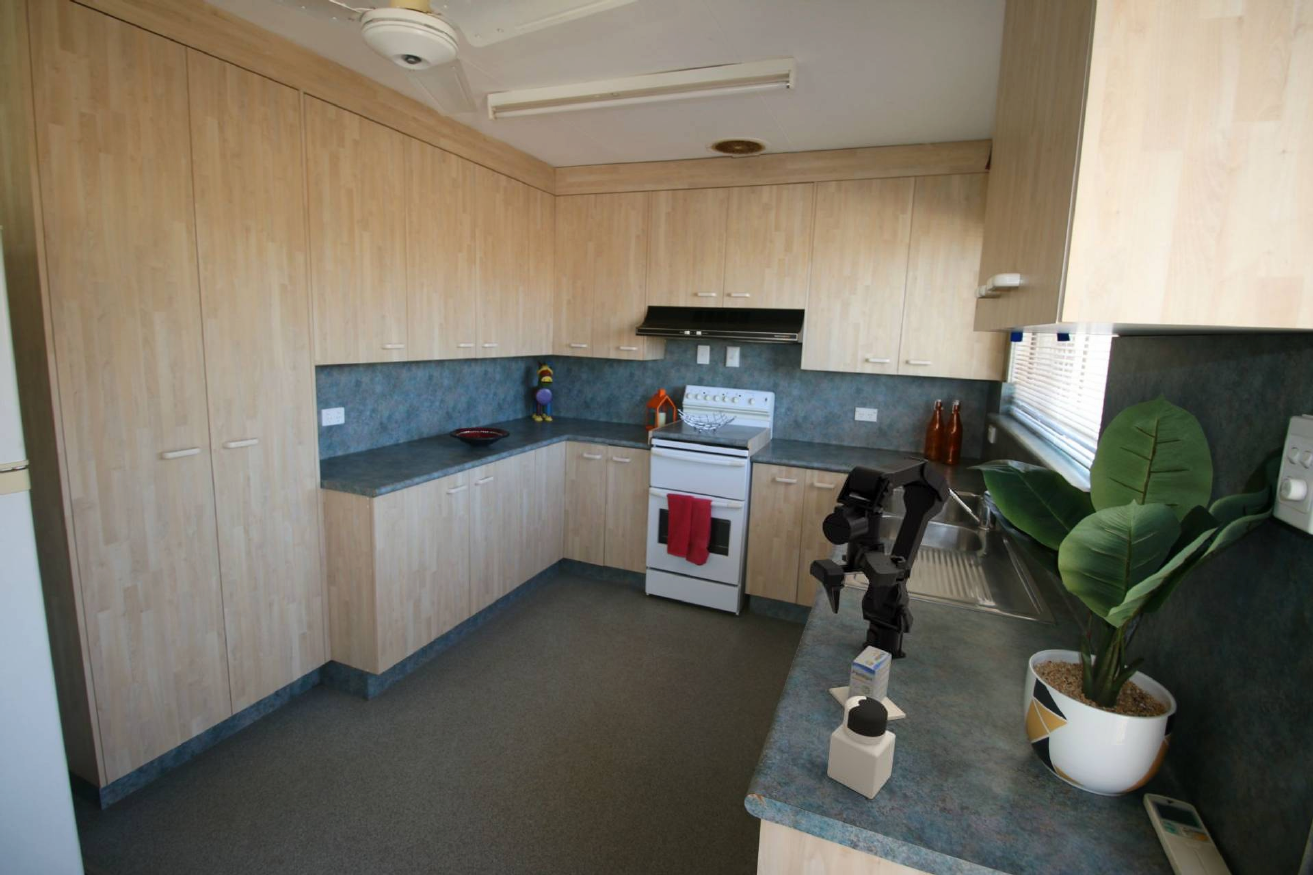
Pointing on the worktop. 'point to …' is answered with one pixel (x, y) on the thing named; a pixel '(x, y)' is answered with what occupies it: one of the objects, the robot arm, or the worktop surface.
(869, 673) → the medicine box
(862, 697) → the medicine bottle
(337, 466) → the worktop surface
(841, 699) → the mat
